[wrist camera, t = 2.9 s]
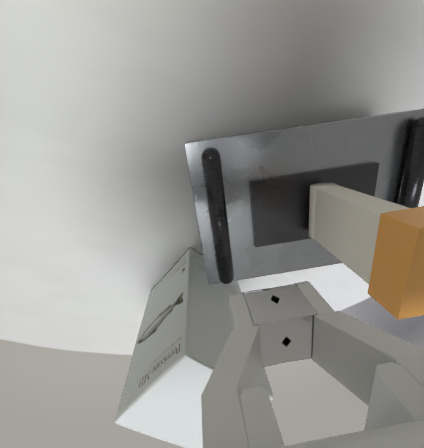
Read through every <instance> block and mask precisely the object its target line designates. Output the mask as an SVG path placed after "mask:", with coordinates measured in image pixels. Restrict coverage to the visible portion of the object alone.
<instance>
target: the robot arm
mask: <svg viewBox="0 0 424 448" xmlns="http://www.w3.org/2000/svg"><path fill="white" fill-rule="evenodd" d="M229 302H230V310H231V318H232V325H233V330H232V332H231V334H230V336H229V339H228V341H227V343H226V345H225V347H224V349H223V351H222V353H221V355H220V357H219V359H218V361H217V363H216V366H215V368H214V370H213V372H212V374H211V376H210V378H209V380H208V382H207V384H206V386H205V388H204V390H203V393H202V395H201V406H202V438H203V448H424V350H423V349H421V348H418V347H416V346H414V345H412V344H410V343H408V342H406V341H403V340H401V339H399V338H397V337H395V336H393V335H390V334H388V333H386V332H384V331H382V330H379V329H377V328H375V327H373V326H371V325H368V324H366V323H364V322H362V321H360V320H358V319H355V318H353V317H351V316H349V315H347V314H344V313H342V312H340V311H336V312H335V311H334V310H333V309H332V308H331V307H330V306H329V304H328V303H327V302H326V301H325V300H324V299H323V297H322V296H321V295H320V294H319V293H318V292H317V290H316V289H315V288H314V287H313V286H312V285H311V284H310V282H307V281H305V282H300V283H295V284H292V285H286V286H280V287H275V288H268V289H261V290H254V291H248V292H242V293H235V294H229ZM311 358H312V360H313V361H314V362H316V363H317V364H318V365H319V366H321V367H322V368H323V369H324V370H325V371H327V372H328V373H329V374H330V375H332V376H333V377H334V378H335V379H336V380H338V381H339V382H340V383H341V384H343V385H344V386H345V387H346V388H347V389H349V390H350V391H351V392H352V393H353V394H355V395H356V396H357V397H358V398H360V399H361V400H362V401H363V402H364V403H366V404H367V405H368V406H369V408H368V413H367V418H366V424H365V429H364V431H359V432H354V433H349V434H344V435H338V436H333V437H328V438H323V439H319V440H313V441H308V442H303V443H298V444H292V445H287V446H284V443H283V440H282V436H281V433H280V430H279V427H278V424H277V420H276V417H275V414H274V411H273V408H272V404H271V401H270V398H269V395H268V392H267V390H265V389H264V388H262V387H260V386H259V383H260V379H261V374H262V370H263V367H266V366H271V365H275V364H279V363H285V362H290V361H297V360H304V359H311Z"/></svg>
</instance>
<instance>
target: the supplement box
mask: <svg viewBox="0 0 424 448" xmlns="http://www.w3.org/2000/svg"><path fill="white" fill-rule="evenodd" d="M235 293H241V291H240V288H239V284H238V281H237V280H236V281H232V282H231V283H230V284H223V283H218V284H212V285H209V284H208V278H207V273H206V267H205V261H204V257H203V256H202V255H200V254H199V253H198V252H196V251H195V250H193V249H192V248H189V249H188V250H187V252H186V253H185V254H184V255H183V256H182V258H181V259H180V260H179V261H178V262H177V263H176V265H175V266H174V267H173V268H172V269H171V270H170V271H169V272H168V273H167V274H166V275H165V277H164V278H163V279H162V280H161V281H160V282H159V283H158V284H157V285H156V286H155V287H154V288H153V289H152V290H151V291H150V295H149V298H148V302H147V305H146V309H145V312H144V316H143V320H142V323H141V327H140V330H139V334H138V337H137V341H136V344H135V348H134V352H133V355H132V359H131V363H130V367H129V371H128V374H127V378H126V381H125V385H124V389H123V392H122V395H121V399H120V403H119V407H118V410H117V414H116V417H115V420H114V422H115V423H116V424H119V425H121V426H124V427H126V428H129V429H132V430H135V431H138V432H141V433H143V434H146V435H149V436H152V437H155V438H157V439H160V440H164V441H167V442H169V443H172V444H175V445H178V446H181V447H184V448H203V438H202V406H201V395H202V393H203V390H204V388H205V386H206V384H207V382H208V380H209V378H210V376H211V374H212V372H213V370H214V368H215V366H216V363H217V361H218V359H219V357H220V355H221V353H222V351H223V349H224V347H225V345H226V343H227V341H228V339H229V336H230V334H231V332H232V330H233V325H232V318H231V310H230V302H229V294H235ZM259 386H260V387H262V388H264V389H265V390H267V392H268V395H269V398H270V401H272V400H273V398H274V397H273V393H272V390H271V387H270V384H269V381H268V378H267V374H266V371H265V368H264V367H263V370H262V374H261V379H260V383H259Z"/></svg>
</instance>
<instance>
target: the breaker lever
mask: <svg viewBox="0 0 424 448" xmlns="http://www.w3.org/2000/svg"><path fill="white" fill-rule="evenodd" d="M308 235H309V237H310V238H312V239H314V240H316V241H317V242H318V243H319V244H320V245H322V246H323V247H324V248H325V249H327V250H328V251H329V252H330V253H331V254H333V255H334V256H335V257H336V258H338V259H339V260H340V261H341V262H342V263H344V264H345V265H346V266H347V267H349V268H350V269H351V270H352V271H353V272H355V273H356V274H357V275H358V276H360V277H361V278H362V279H363V280H364V281H366V282H367V283H368V284H369V288H368V294H369V295H370V296H371V297H373V298H374V299H375V300H376V301H377V302H378V303H379V304H381V305H382V306H383V307H384V308H385V309H386V310H387V311H388V312H390V313H391V314H392V315H393V316H394V317H395V318H397V319H403V318H409V317H415V316H420V315H424V206H422V207H416V208H408V207H405V206H402V205H399V204H396V203H393V202H389V201H386V200H383V199H380V198H377V197H374V196H370V195H367V194H364V193H361V192H358V191H355V190H352V189H348V188H345V187H342V186H339V185H337V184H335V183H315V184H312V185H310V203H309V233H308Z"/></svg>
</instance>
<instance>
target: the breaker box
mask: <svg viewBox="0 0 424 448" xmlns="http://www.w3.org/2000/svg"><path fill="white" fill-rule="evenodd" d="M185 149H186V155H187V161H188V167H189V173H190V179H191V184H192V190H193V196H194V202H195V208H196V214H197V220H198V226H199V231H200V237H201V243H202V249H203V255H204V261H205V267H206V273H207V278H208V284H209V285H212V284H218V283H223V284H230V283H231V282H232V281H236V280H242V279H248V278H254V277H260V276H266V275H272V274H278V273H284V272H290V271H296V270H302V269H308V268H314V267H320V266H326V265H332V264H338V263H342V262H341V261H340V260H339V259H338V258H336V257H335V256H334V255H333V254H331V253H330V252H329V251H328V250H327V249H325V248H324V247H323V246H322V245H320V244H319V243H318V242H317V241H316V240H314V239H312V238H310V237H309V235H308V233H309V203H310V185H312V184H315V183H335V184H337V185H339V186H342V187H345V188H348V189H352V190H355V191H358V192H361V193H364V194H367V195H370V196H374V197H377V198H380V199H383V200H386V201H389V202H393V203H396V204H399V205H402V206H405V207H408V208H416V207H418V204H419V200H420V195H421V191H422V187H423V182H424V109H419V110H411V111H404V112H396V113H388V114H380V115H373V116H366V117H359V118H352V119H345V120H338V121H331V122H324V123H317V124H311V125H304V126H297V127H290V128H283V129H276V130H269V131H262V132H256V133H249V134H242V135H235V136H228V137H221V138H214V139H207V140H201V141H194V142H187V143H185Z"/></svg>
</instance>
